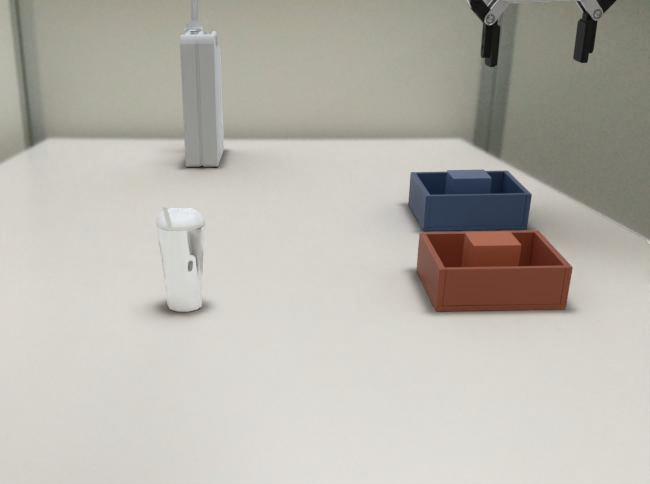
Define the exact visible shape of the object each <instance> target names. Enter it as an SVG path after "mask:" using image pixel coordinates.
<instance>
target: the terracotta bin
mask: <svg viewBox="0 0 650 484" xmlns="http://www.w3.org/2000/svg"><path fill="white" fill-rule="evenodd" d="M466 232H467V231H423V232H422V231H421V232H419V235H418V245H417V246H418V247H417V248H418V249H417V257H416V258H417V260H416V269H415V271H416V273H417V275H418V277H419V279H420V281H421V284H422V285H423V288H424V289H425V292H426V293H427V296H428V298H429V300H430V302H431V304H432V306H433V309H434V310H435V312H471V311H472V312H473V311H474V312H478V311H482V312H483V311H532V310H533V311H539V310H566V309H567V303H568V297H569V292H570V285H571V280H572V274H573V266H572V264H571V263H569V261H568V260H567V259H566V258H565V257H564V256H563V255H562V254H561V253H560V252H559V251H558V250H557V249H556V248H555V246H554V245H553V244H552V242H550V241H549V239H547V238H546V237H545V235H544V234H543V233H542V232H541V231H540V230H538V229H537V230H477V232H511V233H512V234H513V235H514V237H515V238H516V239H517V240H518V241H519V243H520V244H521V252H520V259H519V266H503V267H461V265H462V256H463V246H464V237H465V233H466Z"/></svg>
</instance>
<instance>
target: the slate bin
mask: <svg viewBox="0 0 650 484" xmlns="http://www.w3.org/2000/svg"><path fill="white" fill-rule="evenodd" d="M485 171H486V172H487V173H488V175H489V176H490V177H491V178H492V181H491V189H490V194H448V195H445V188H446V177H447V171H411V172H410V174H409V188H408V189H409V190H408V201H407V202H408V203H407V204H408V207H409V208H410V210H411V212H412V215H414V217H415V219H416V221H417V223H418V225H419V226H420V228H421V230H422V231H423V232H455V231H514V230H528V225H529V216H530V212H531V211H530V210H531V202H532V196H533V195H532V194H533V193H531V192H530V191H529V190H528V188H526V187H525V186H524V185H523V184H522V183H521V182H520V181H519V180H518V179H517V178H516V177H515V176H514V175H513V174H512V173H511V172H510V171H509V170H506V169H505V170H485Z"/></svg>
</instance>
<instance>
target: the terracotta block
mask: <svg viewBox="0 0 650 484" xmlns="http://www.w3.org/2000/svg"><path fill="white" fill-rule="evenodd" d="M465 232H466V233H465V237H464V246H463V256H462V265H461V267H503V266H519V259H520V252H521V244H520V243H519V241H518V240H517V239H516V238H515V237H514V235H513V234H512V233H511V232H478V231H465Z"/></svg>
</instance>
